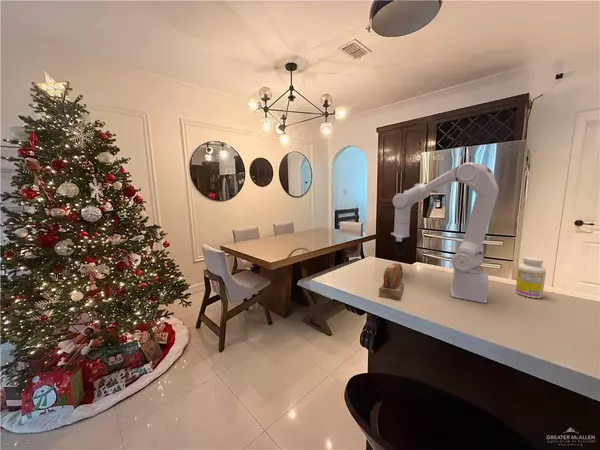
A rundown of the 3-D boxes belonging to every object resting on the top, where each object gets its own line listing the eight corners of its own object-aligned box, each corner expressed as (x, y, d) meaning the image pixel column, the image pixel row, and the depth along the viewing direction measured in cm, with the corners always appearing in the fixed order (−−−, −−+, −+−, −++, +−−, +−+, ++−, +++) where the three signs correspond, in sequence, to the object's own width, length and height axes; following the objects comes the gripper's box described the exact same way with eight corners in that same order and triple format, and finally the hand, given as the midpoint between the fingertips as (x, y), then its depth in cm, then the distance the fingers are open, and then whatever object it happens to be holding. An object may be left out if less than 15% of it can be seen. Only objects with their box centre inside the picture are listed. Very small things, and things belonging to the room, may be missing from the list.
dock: (403, 289, 86) (404, 281, 85) (399, 300, 77) (400, 291, 76) (384, 285, 89) (385, 278, 89) (379, 296, 80) (379, 287, 80)
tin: (390, 295, 81) (391, 272, 79) (381, 293, 83) (382, 270, 81) (402, 282, 92) (403, 261, 91) (394, 280, 94) (395, 260, 93)
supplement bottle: (522, 289, 85) (527, 255, 83) (547, 297, 78) (552, 260, 77) (510, 292, 83) (515, 256, 81) (534, 300, 76) (539, 262, 75)
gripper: (394, 220, 105) (392, 250, 107) (388, 224, 92) (387, 258, 94) (411, 221, 101) (409, 252, 103) (408, 225, 89) (406, 260, 91)
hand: (400, 255), depth 98 cm, fingers closed
